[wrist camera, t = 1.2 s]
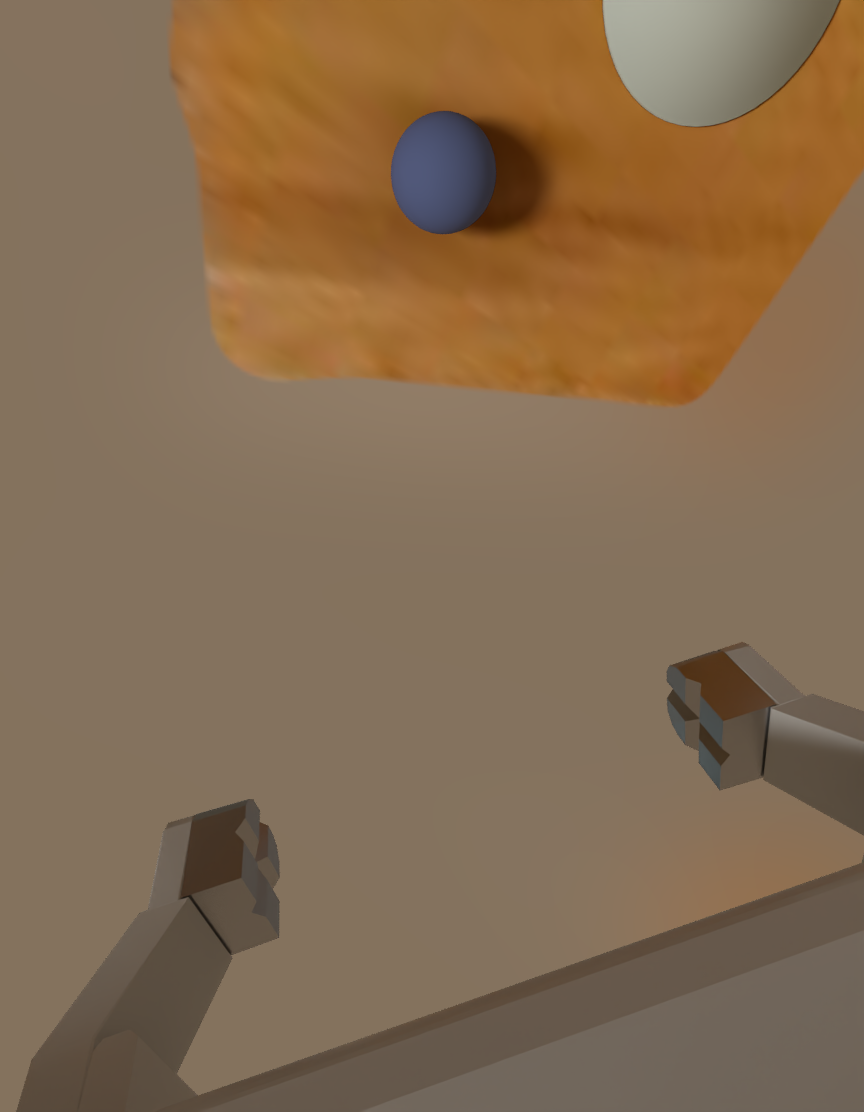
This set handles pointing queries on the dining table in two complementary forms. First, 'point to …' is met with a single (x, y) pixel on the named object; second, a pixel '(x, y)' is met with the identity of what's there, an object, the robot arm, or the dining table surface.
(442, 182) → the ball
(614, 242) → the dining table surface
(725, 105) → the disc
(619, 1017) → the robot arm
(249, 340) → the dining table surface
